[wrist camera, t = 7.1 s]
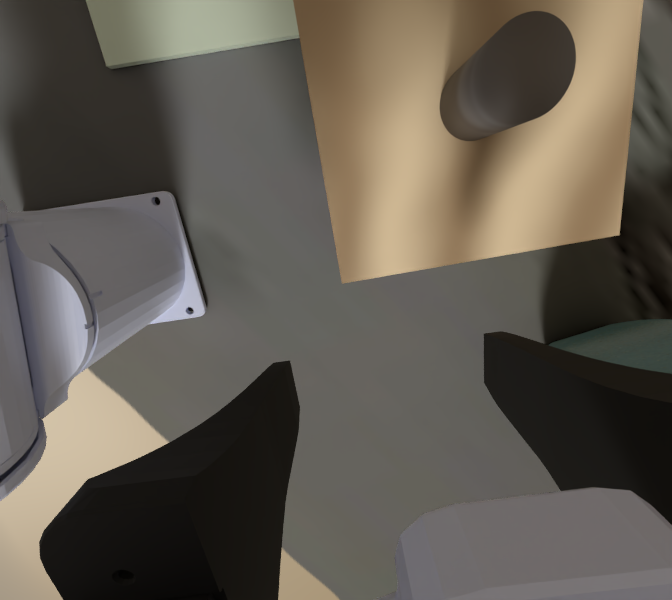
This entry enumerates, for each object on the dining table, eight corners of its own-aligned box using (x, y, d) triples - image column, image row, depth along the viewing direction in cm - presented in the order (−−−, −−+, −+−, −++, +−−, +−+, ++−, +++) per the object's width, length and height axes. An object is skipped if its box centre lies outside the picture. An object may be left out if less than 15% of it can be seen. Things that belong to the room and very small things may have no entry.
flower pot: (513, 328, 23) (624, 406, 14) (638, 288, 22) (832, 345, 14) (531, 424, 26) (634, 538, 17) (644, 390, 25) (809, 492, 16)
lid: (341, 279, 17) (346, 310, 13) (283, -56, 13) (259, -196, 8) (606, 233, 17) (711, 247, 12) (638, -129, 12) (818, -316, 8)
